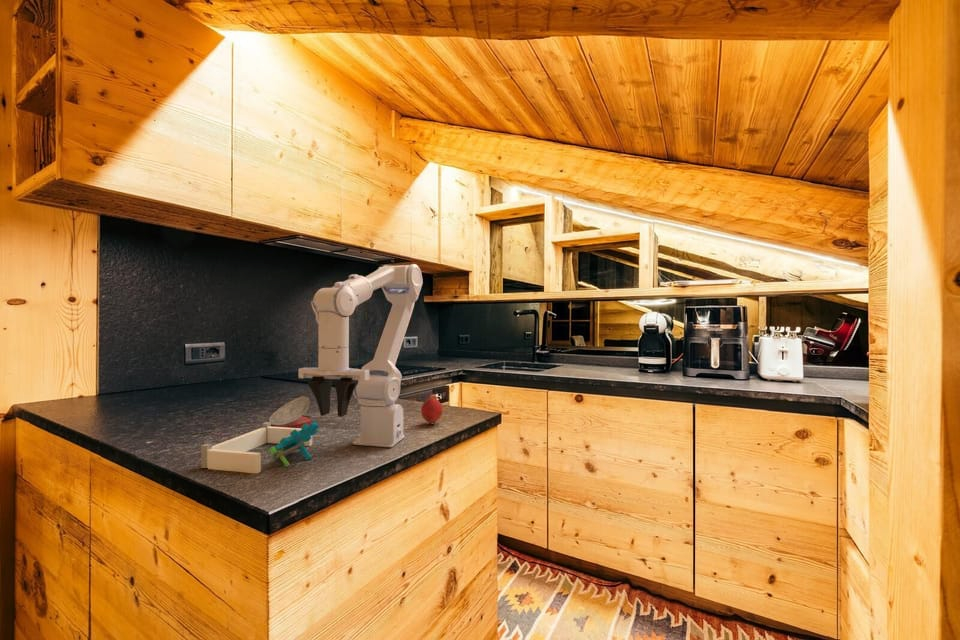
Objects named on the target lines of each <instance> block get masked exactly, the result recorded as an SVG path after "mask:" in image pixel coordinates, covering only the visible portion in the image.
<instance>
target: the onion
mask: <svg viewBox="0 0 960 640" xmlns="http://www.w3.org/2000/svg"><path fill="white" fill-rule="evenodd" d="M420 411H421V416H422V418H423V419H424V420H425V421H426V422H427V423H429V424H430V423H434V424H436V422H437V421H439V420H440V418H441V417H442V416H443V413H444V407H443V404H442V403H441V402H440V400H439V399H437V398H436V395H435V394H431V395H430V397H428V399H426V400H424V402H423V403H422V405H421V409H420Z"/></svg>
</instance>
